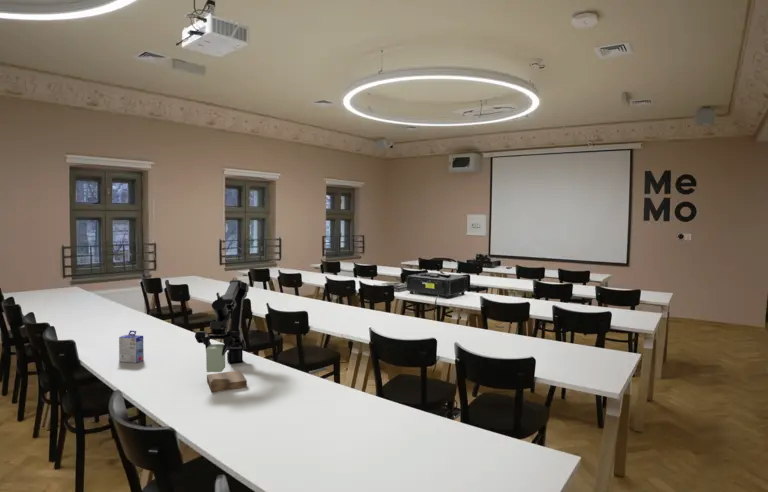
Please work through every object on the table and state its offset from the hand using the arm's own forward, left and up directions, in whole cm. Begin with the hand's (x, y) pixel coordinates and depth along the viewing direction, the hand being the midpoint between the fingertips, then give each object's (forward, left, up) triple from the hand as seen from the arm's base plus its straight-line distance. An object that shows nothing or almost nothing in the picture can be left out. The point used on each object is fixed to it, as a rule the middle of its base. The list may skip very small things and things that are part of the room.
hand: (214, 355), depth 200 cm
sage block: (-1, -1, -7) cm, 7 cm away
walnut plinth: (-5, 0, -13) cm, 14 cm away
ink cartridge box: (+31, -52, -14) cm, 63 cm away
